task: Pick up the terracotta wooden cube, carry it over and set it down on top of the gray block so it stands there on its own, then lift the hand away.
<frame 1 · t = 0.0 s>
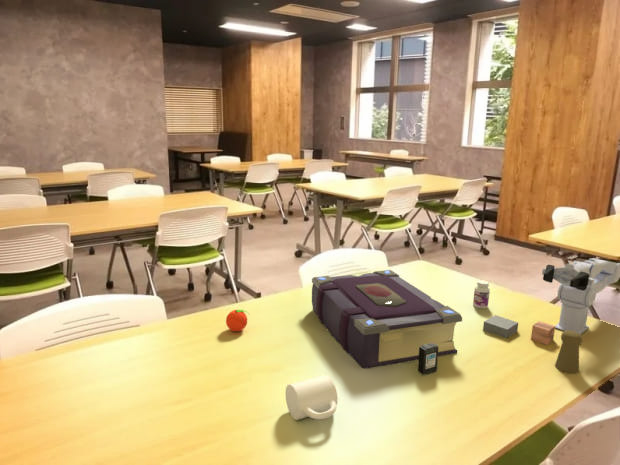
hand: (557, 280, 139), 22 cm above the table, tool horizontal, fingers open, 7 cm apart
gray block: (499, 331, 154), on the table
terracotta cube: (541, 340, 148), on the table
mug: (314, 417, 108), on the table
book: (375, 330, 154), on the table
ink cartridge: (427, 372, 128), on the table
clementine: (238, 330, 152), on the table
cork: (566, 368, 131), on the table
pill bottle: (480, 306, 175), on the table
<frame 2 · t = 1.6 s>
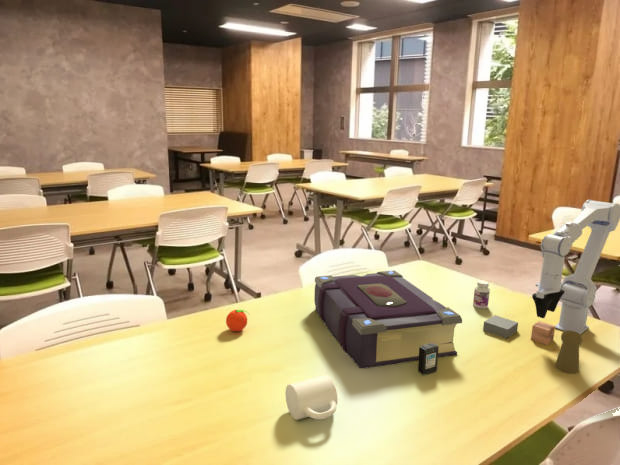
hand: (545, 313, 146), 9 cm above the table, tool pointing down, fingers open, 7 cm apart
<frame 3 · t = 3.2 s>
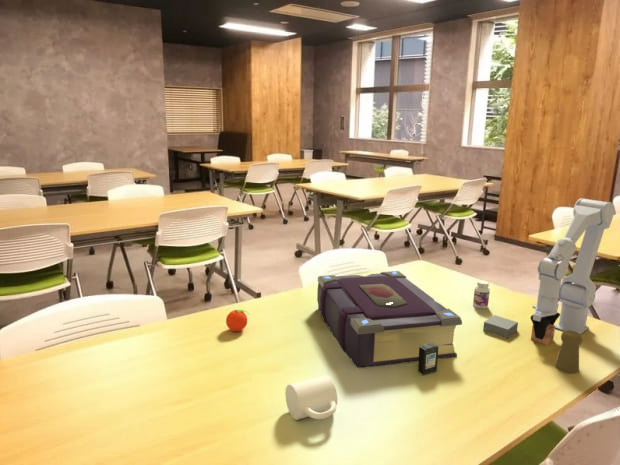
hand: (542, 335, 148), 1 cm above the table, tool pointing down, fingers closed on terracotta cube, 5 cm apart
terracotta cube: (541, 339, 148), on the table, touching gripper
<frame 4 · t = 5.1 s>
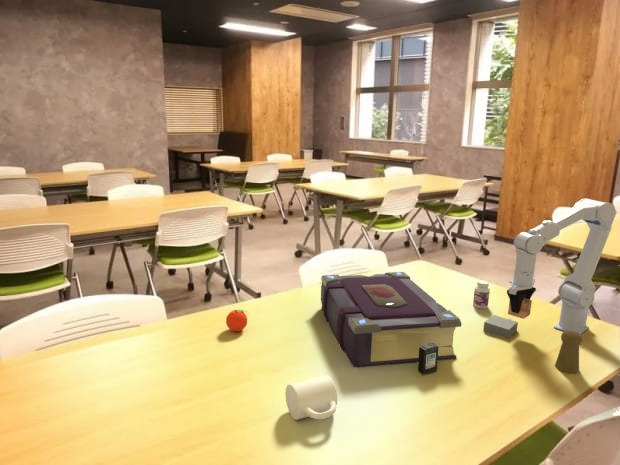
hand: (518, 310, 150), 9 cm above the table, tool pointing down, fingers closed on terracotta cube, 5 cm apart
terracotta cube: (518, 314, 150), point 7 cm above the table, touching gripper
when the fingers open (6 cm above the table, at t = 6.9 s): terracotta cube drops 2 cm, point 3 cm above the table.
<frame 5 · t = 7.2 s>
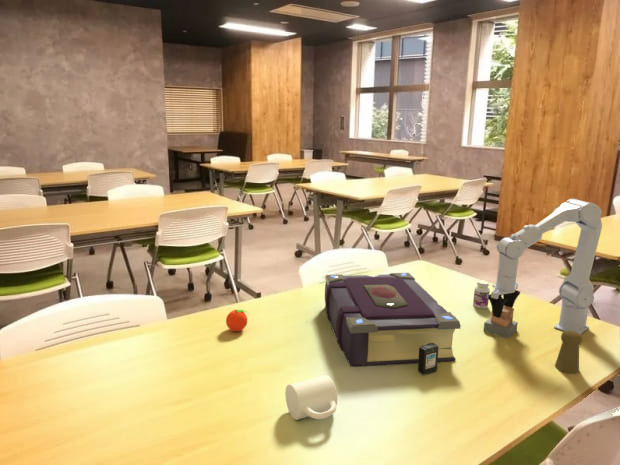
hand: (502, 313, 153), 6 cm above the table, tool pointing down, fingers open, 7 cm apart
terracotta cube: (501, 322, 153), point 3 cm above the table
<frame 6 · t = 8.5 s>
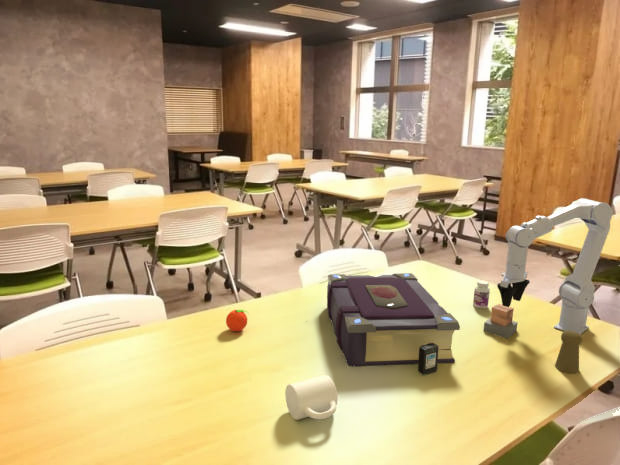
hand: (511, 303, 151), 10 cm above the table, tool pointing down, fingers open, 7 cm apart
gray block: (499, 332, 154), on the table, touching terracotta cube
terracotta cube: (501, 321, 154), point 3 cm above the table, touching gray block
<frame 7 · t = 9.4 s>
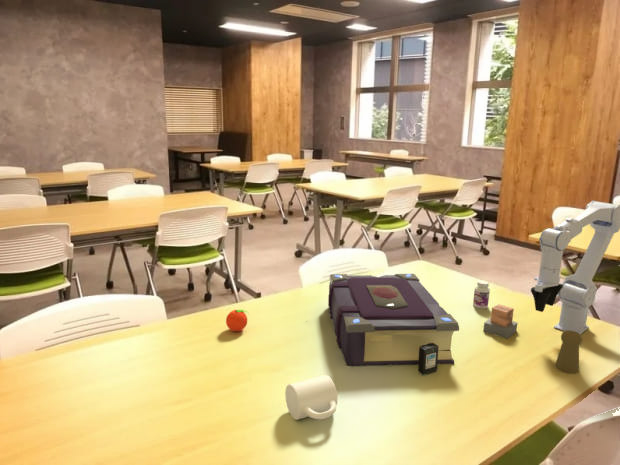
hand: (544, 307, 147), 10 cm above the table, tool pointing down, fingers open, 7 cm apart
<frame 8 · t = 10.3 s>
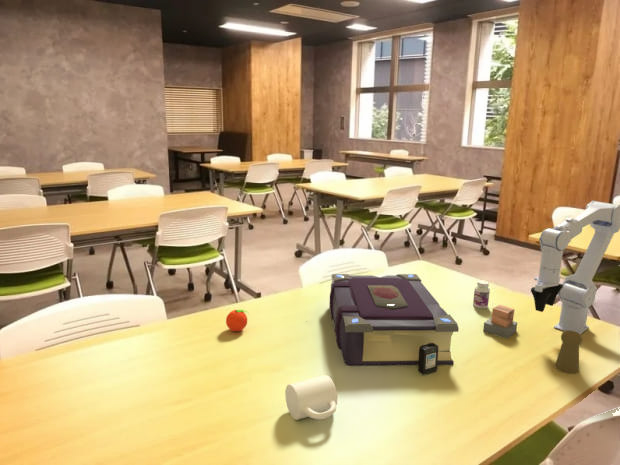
hand: (544, 307, 147), 10 cm above the table, tool pointing down, fingers open, 7 cm apart
at the end: terracotta cube 0.4 cm off-centre on the gray block, point 3.5 cm above the gray block's base; the gripper is holding nothing; terracotta cube tilted 1° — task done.
